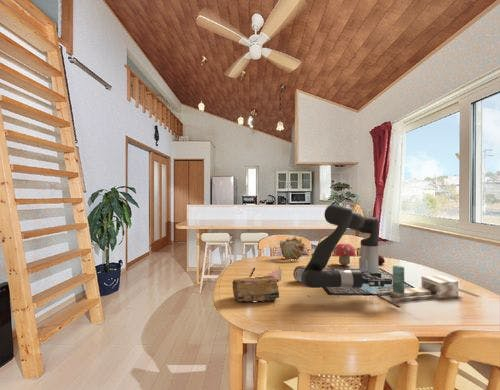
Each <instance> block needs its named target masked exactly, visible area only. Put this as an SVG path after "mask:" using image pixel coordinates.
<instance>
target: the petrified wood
mask: <svg viewBox="0 0 500 390" xmlns="http://www.w3.org/2000/svg"><path fill="white" fill-rule="evenodd" d="M231 285H232V294H233V298H234V297H235V298H236V299H235V298H234V299H235V300H236V301H237V302H241V301H245V302H252V301H262V302H266V301H265V300H267V301H273V300H276V299H278V298H280V293H279V285H278V281H277V280H276V278H275V277H273V276H263V277H255V278H250V277H244V278H240V279H233V280H232V284H231Z"/></svg>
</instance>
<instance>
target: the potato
mask: <svg viewBox="0 0 500 390" xmlns="http://www.w3.org/2000/svg"><path fill="white" fill-rule="evenodd" d="M384 263H385V258H384V256H381V255H379V254H378V266H379V265H384Z"/></svg>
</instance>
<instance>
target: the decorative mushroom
mask: <svg viewBox="0 0 500 390" xmlns="http://www.w3.org/2000/svg"><path fill="white" fill-rule="evenodd" d="M333 254H334V255H336V256H338V263H339V264H340V265H342V266H345V267H346V266H348V265H349V264H351V259H350V258H351V257H353V256H355V255H356V250H355V248H354V247H353V246H352V245H351V244H349V243H348V242H339V243H337V245H336V246H335V248H334V250H333Z"/></svg>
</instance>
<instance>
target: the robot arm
mask: <svg viewBox="0 0 500 390" xmlns="http://www.w3.org/2000/svg"><path fill="white" fill-rule="evenodd" d="M323 215H324V219H325V221H326V222H327V223H329V224H331V225H335V226H336V228H335V229H334V231H333V232H331V233H330V234H329V235H328V236H327V237H325V238H324V239H322V240H321V241H320V242H319V243H317V245H316V247H315V249H314V251H313V253H312V256H311V258H310V260H309V262H308V263H307V265H305V266H306V268H305V270H304V271H303V273H302V276H301V281H302V282H301V284H303V286H305V287H307V288H311V289H319V288H320V289H321V288H342V289H355V288H356V289H361V288H362V287H363V285H364V284H365V285H367V286H369V287H376V288H380V287H381V288H384V287H385V285H393V278H382V273H380V272H379V265H378V255H379V231H380V229H379V227H380V222H379V219H378V218H377V217H373V216H372V217H370V216H363V215H362V214H361V213H359V212H356V211H353V209H351V208H350V207H347V206H343V205H340V204H339V205H338V204H330V205H329V206H327V207H326V208H325V211H324V214H323ZM347 229H349V230H352V231H358V232H359V233H362V234H370V236H369V237H367V238H362V239H361V240H360V257H358V265H359V266H358V269H330V270H324V269H325V268H326V266H327V265H328V263H329V261H330V258H331V256H332V254H333V253H334V249H335V247H336V246H337V245H338V244H339V243H340V240H341V238H343V236H344V234H345V232H346V230H347Z"/></svg>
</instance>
